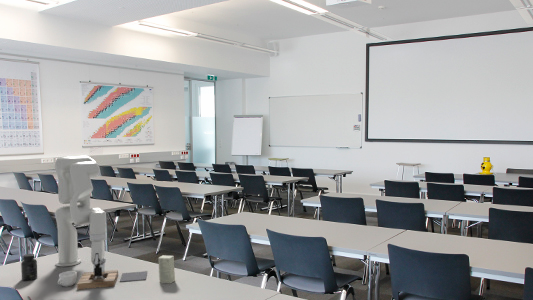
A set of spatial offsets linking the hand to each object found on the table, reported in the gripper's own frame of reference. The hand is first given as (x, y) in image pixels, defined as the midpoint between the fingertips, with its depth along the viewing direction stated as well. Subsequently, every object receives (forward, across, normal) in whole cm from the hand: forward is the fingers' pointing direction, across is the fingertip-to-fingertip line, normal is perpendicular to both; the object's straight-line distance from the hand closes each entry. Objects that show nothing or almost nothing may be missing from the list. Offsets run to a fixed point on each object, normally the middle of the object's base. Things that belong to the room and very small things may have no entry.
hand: (99, 273), depth 204 cm
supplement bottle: (+4, -13, -34) cm, 37 cm away
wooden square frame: (+4, 0, 0) cm, 4 cm away
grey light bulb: (+3, 0, 0) cm, 3 cm away
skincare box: (+4, +8, +32) cm, 33 cm away
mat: (+4, -3, +16) cm, 16 cm away
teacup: (+4, +2, -14) cm, 15 cm away
